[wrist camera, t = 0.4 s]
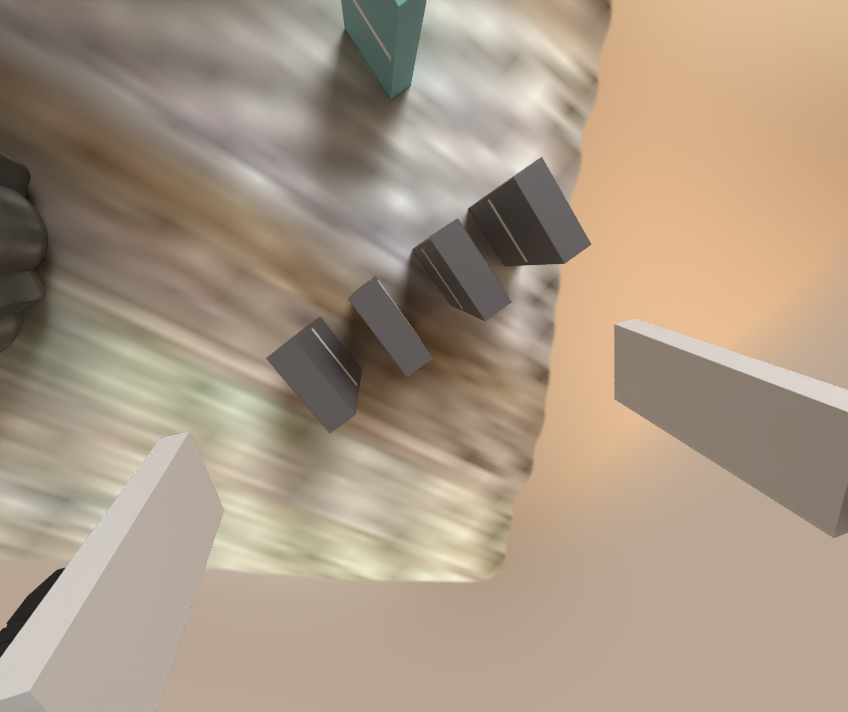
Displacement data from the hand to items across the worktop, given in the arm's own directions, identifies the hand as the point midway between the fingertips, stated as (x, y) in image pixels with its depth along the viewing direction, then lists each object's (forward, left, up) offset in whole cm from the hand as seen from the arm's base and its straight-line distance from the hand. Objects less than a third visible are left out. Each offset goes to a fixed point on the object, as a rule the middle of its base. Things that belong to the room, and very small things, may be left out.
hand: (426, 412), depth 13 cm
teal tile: (-21, +1, -25) cm, 32 cm away
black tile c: (-1, -1, -25) cm, 25 cm away
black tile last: (+2, -6, -25) cm, 26 cm away
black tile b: (-4, +5, -25) cm, 26 cm away
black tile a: (-7, +10, -25) cm, 28 cm away
